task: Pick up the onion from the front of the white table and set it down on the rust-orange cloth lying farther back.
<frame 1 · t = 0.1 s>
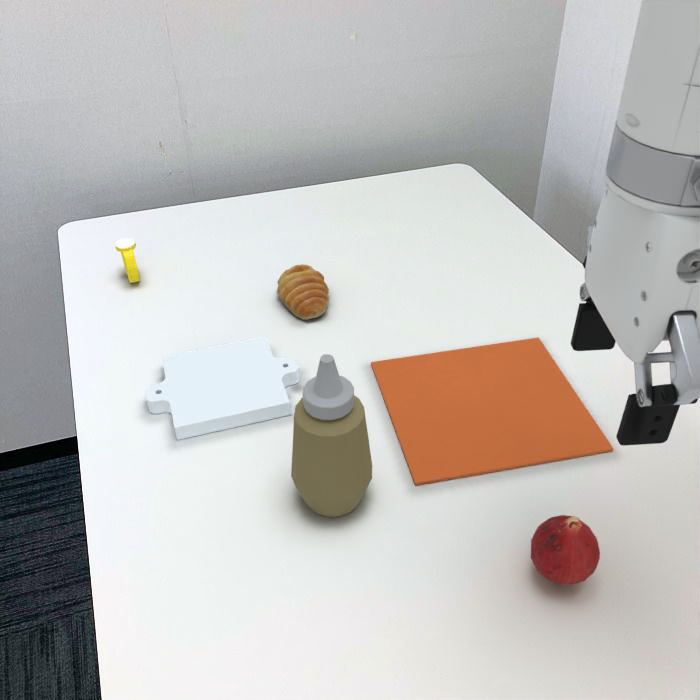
hand: (614, 391, 52), 24 cm above the table, tool pointing down, fingers open, 9 cm apart
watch: (133, 278, 107), on the table
pastry: (306, 301, 102), on the table
cloth: (483, 404, 85), on the table
mounting plate: (225, 391, 88), on the table
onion: (557, 576, 67), on the table
squeeze bottle: (333, 496, 75), on the table
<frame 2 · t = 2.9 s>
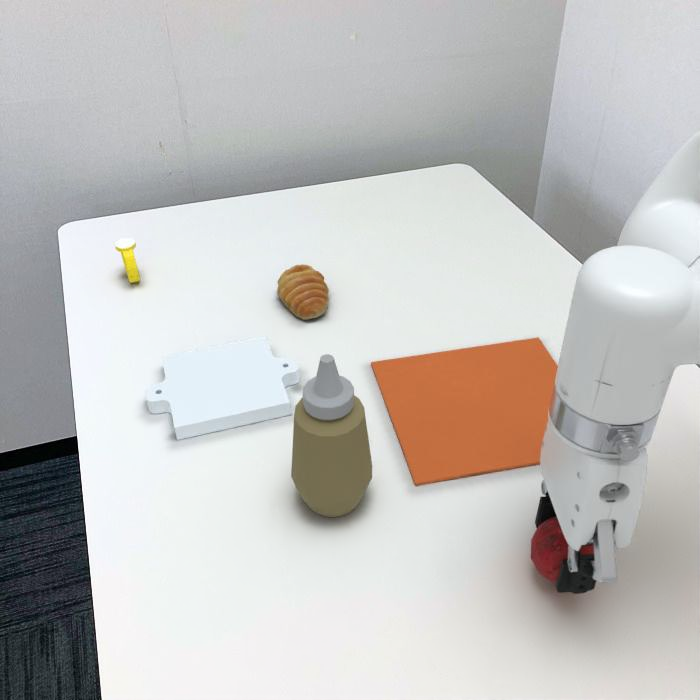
hand: (562, 555, 65), 3 cm above the table, tool pointing down, fingers closed on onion, 5 cm apart
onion: (557, 576, 67), on the table, touching gripper
everything else where it was.
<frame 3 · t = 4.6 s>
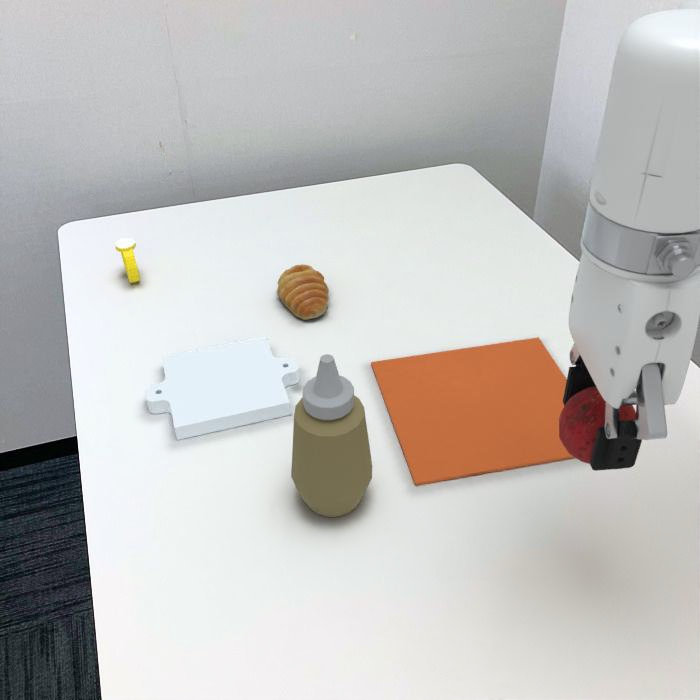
hand: (596, 432, 57), 17 cm above the table, tool pointing down, fingers closed on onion, 5 cm apart
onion: (589, 461, 59), point 14 cm above the table, touching gripper
everything else where it was.
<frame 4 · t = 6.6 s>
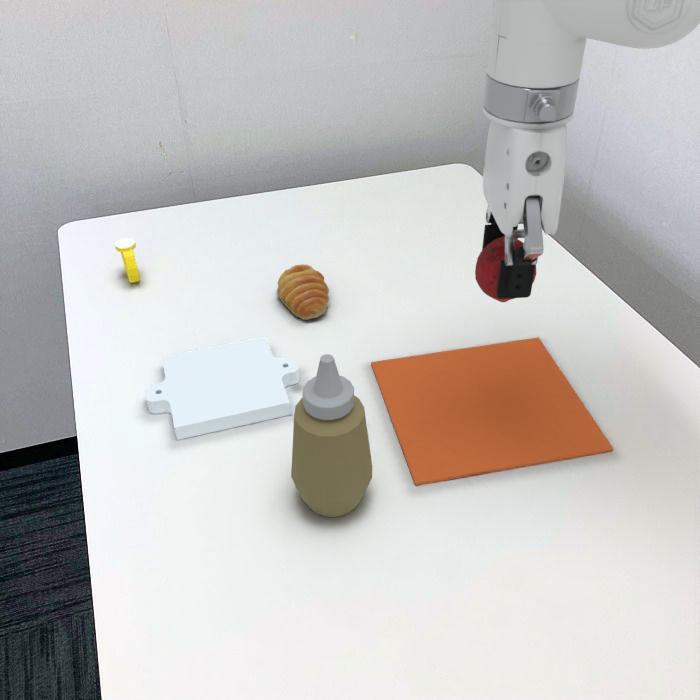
hand: (504, 275, 73), 18 cm above the table, tool pointing down, fingers closed on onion, 5 cm apart
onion: (500, 302, 75), point 15 cm above the table, touching gripper
everything else where it was.
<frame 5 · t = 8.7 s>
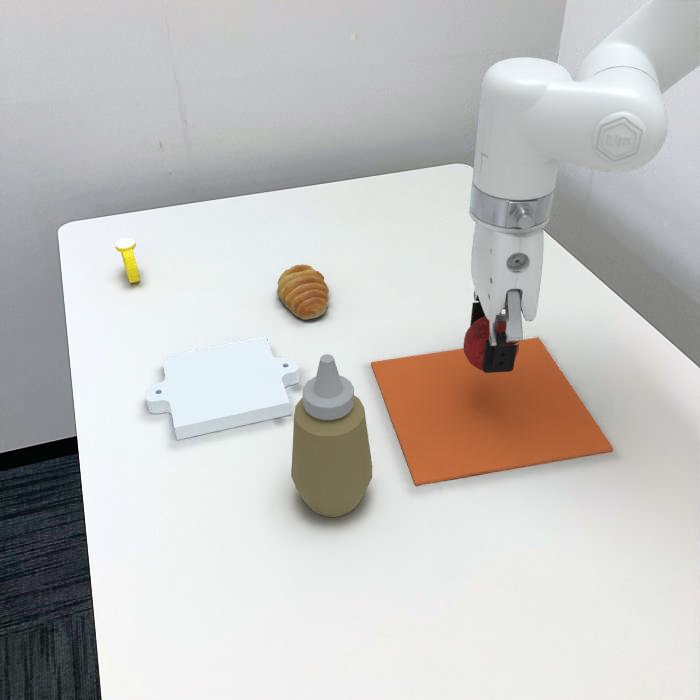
hand: (490, 349, 80), 8 cm above the table, tool pointing down, fingers closed on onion, 5 cm apart
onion: (487, 371, 82), point 5 cm above the table, touching gripper
everything else where it was.
when the fingers open (3 cm above the table, at t = 10.3 s): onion stays where it is, resting on cloth.
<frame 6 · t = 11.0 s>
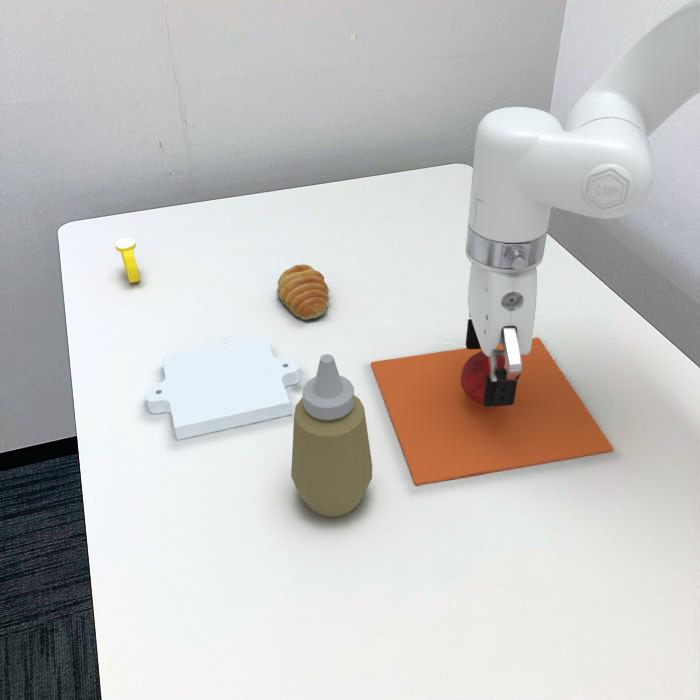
hand: (488, 374, 82), 5 cm above the table, tool pointing down, fingers open, 9 cm apart
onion: (483, 403, 85), resting on cloth
everything else where it was.
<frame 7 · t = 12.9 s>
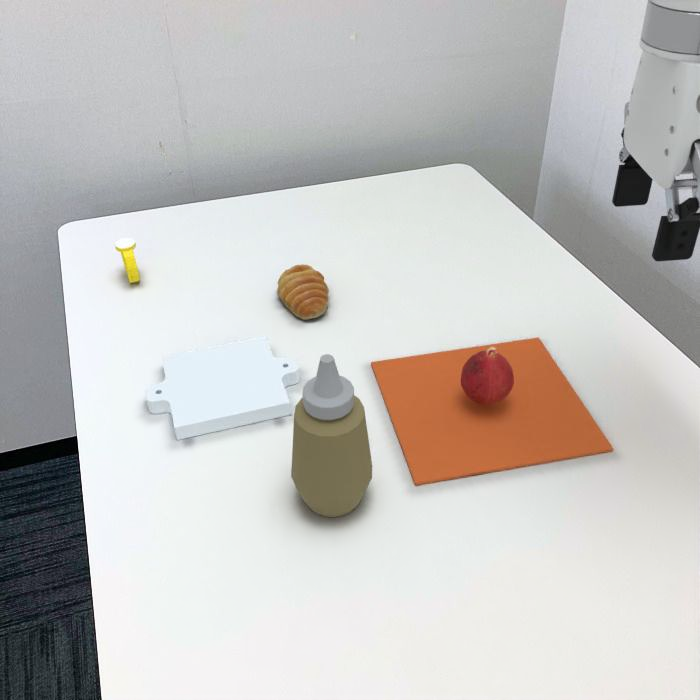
hand: (648, 230, 65), 25 cm above the table, tool pointing down, fingers open, 9 cm apart
nothing on the table moved.
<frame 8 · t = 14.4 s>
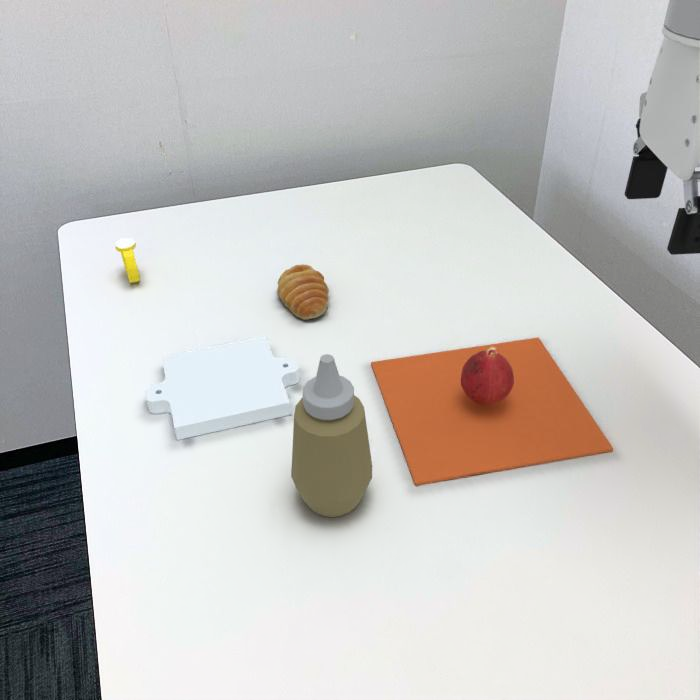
hand: (662, 223, 65), 26 cm above the table, tool pointing down, fingers open, 9 cm apart
nothing on the table moved.
at the end: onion inside the target area on the cloth (0.0 cm from its centre), point 0.2 cm above the cloth's base; the gripper is holding nothing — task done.
